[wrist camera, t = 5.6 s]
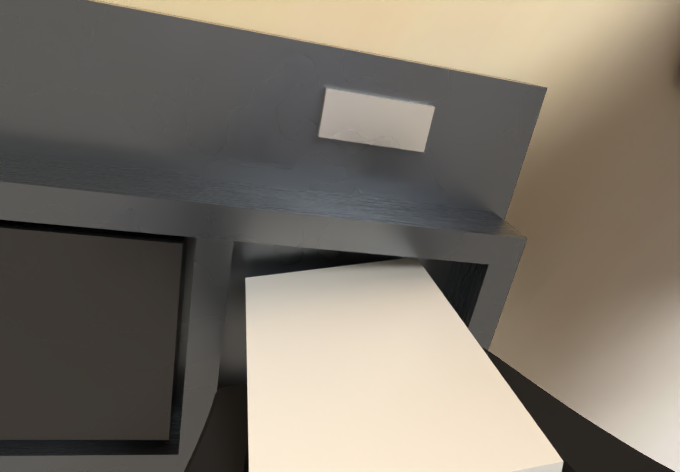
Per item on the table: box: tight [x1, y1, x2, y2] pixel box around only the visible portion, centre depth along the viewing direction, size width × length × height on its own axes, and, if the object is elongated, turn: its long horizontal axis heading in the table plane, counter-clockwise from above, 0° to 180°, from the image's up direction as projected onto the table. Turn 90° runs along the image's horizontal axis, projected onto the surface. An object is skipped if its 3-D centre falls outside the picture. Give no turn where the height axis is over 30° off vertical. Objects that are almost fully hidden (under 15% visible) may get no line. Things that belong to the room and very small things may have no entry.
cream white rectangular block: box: [245, 257, 564, 472], centre depth 9 cm, size 4×4×7 cm
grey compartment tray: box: [0, 0, 547, 472], centre depth 11 cm, size 20×13×3 cm, turn 79°
